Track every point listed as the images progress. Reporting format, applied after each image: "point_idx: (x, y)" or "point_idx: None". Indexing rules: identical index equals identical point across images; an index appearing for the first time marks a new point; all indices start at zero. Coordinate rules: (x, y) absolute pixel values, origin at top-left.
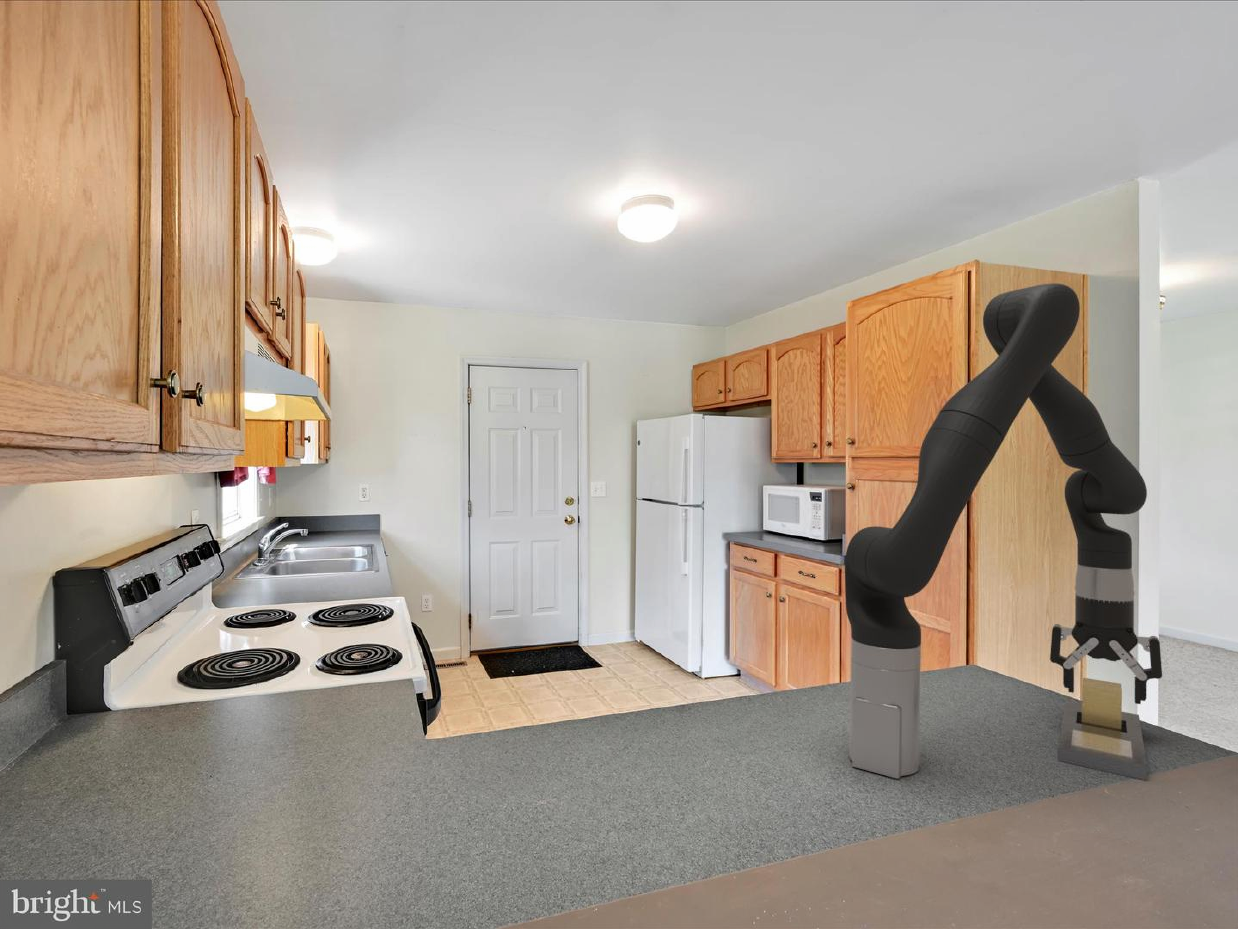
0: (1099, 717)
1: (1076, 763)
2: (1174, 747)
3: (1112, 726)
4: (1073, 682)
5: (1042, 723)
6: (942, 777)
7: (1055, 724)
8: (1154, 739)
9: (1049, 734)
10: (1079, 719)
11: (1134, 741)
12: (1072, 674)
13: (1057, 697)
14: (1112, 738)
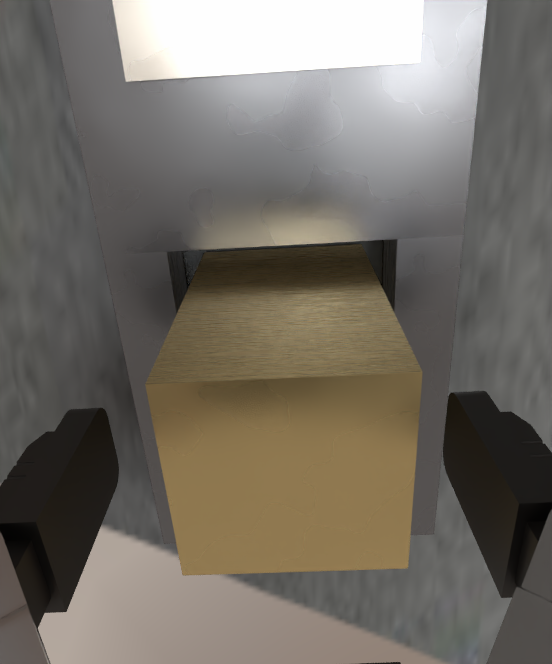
0: (291, 287)
1: None
2: (38, 374)
3: (231, 276)
4: (476, 433)
5: (518, 317)
6: None
7: (463, 342)
8: (111, 418)
9: (499, 172)
10: None
11: (115, 124)
12: (511, 473)
13: (439, 642)
14: (213, 58)
